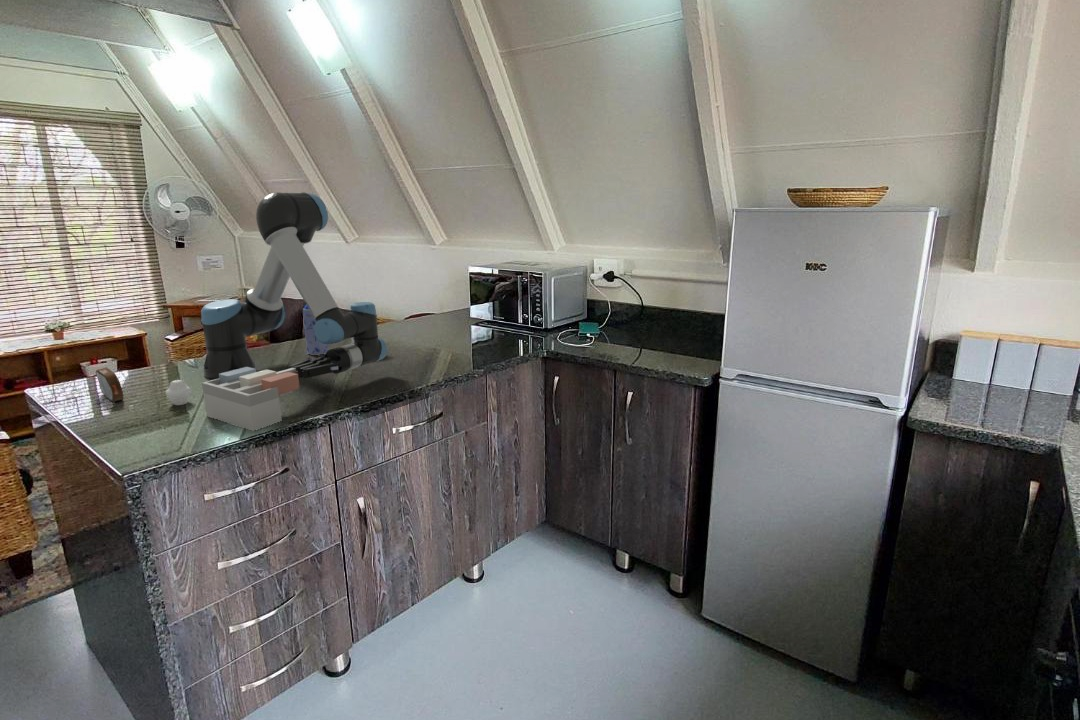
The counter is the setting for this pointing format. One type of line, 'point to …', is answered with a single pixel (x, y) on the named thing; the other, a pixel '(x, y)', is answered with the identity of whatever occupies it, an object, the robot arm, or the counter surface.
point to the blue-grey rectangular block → (235, 374)
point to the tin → (109, 384)
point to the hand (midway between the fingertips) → (273, 378)
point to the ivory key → (255, 377)
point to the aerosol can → (312, 334)
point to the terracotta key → (281, 382)
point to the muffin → (178, 392)
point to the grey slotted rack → (242, 404)
